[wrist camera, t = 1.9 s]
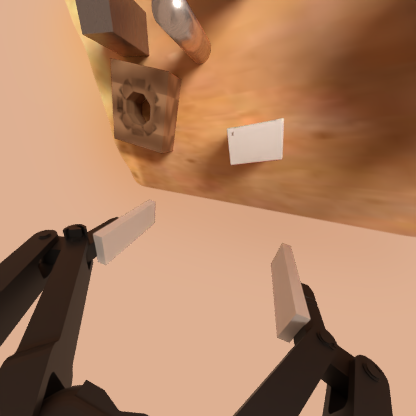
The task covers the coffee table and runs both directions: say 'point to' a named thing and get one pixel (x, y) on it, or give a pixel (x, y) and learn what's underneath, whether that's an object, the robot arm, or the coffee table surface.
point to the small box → (256, 142)
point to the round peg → (182, 27)
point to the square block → (115, 25)
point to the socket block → (132, 105)
